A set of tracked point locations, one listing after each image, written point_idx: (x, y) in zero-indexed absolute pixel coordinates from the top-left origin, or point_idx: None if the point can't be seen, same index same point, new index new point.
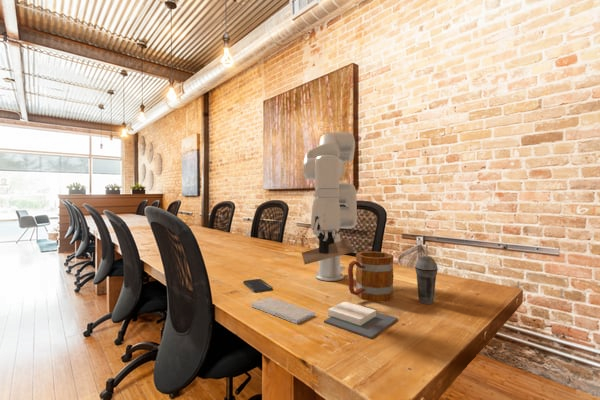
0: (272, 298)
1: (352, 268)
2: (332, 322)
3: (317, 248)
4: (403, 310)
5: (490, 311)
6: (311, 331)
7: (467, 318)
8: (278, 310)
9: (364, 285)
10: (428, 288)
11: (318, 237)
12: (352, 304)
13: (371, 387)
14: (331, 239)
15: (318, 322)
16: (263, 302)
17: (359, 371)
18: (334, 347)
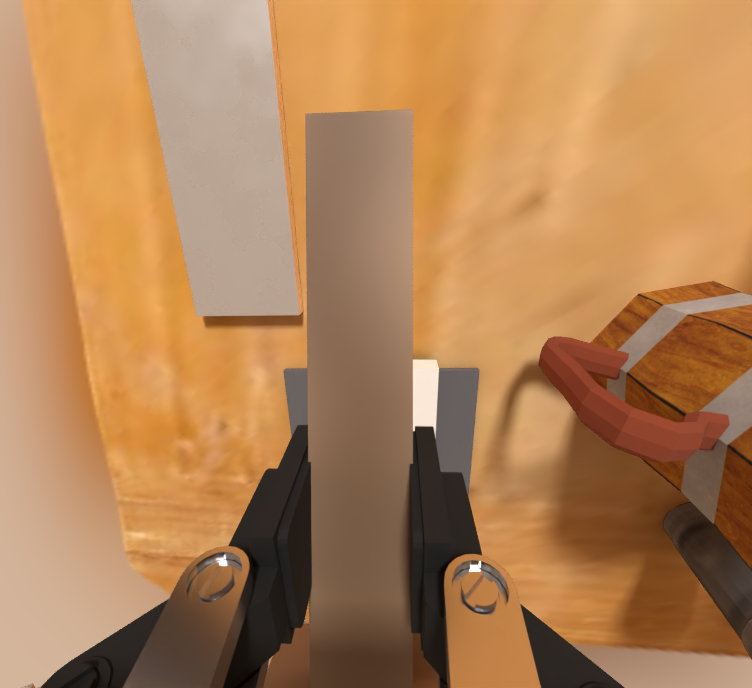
0: (261, 14)
1: (592, 428)
2: (293, 398)
3: (310, 405)
4: (554, 496)
5: (686, 643)
6: (208, 378)
7: (592, 616)
8: (190, 191)
9: (627, 386)
10: (704, 587)
11: (129, 642)
12: (428, 406)
13: (154, 569)
14: (422, 631)
15: (271, 355)
16: (185, 31)
17: (172, 540)
18: (197, 468)
